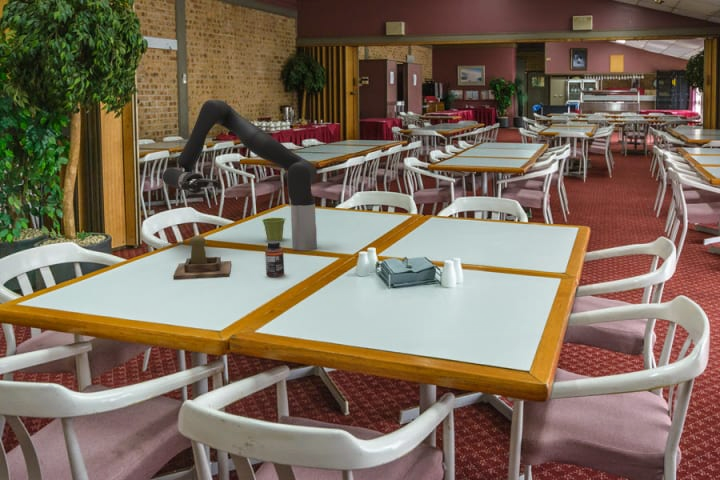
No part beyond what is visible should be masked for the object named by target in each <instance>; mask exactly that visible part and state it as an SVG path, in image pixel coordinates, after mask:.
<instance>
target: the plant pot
mask: <svg viewBox="0 0 720 480" xmlns="http://www.w3.org/2000/svg"><path fill="white" fill-rule="evenodd" d="M261 221H262V223H263V225H264V230H265V235H266V240H267V242H269V241H279V242H281V241H283V236H284V225H285V221H286V218H284V217H270V218H269V217H267V218H263V219H262V220H261Z"/></svg>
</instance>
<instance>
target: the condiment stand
mask: <svg viewBox="0 0 720 480" xmlns="http://www.w3.org/2000/svg"><path fill="white" fill-rule="evenodd" d="M206 258H207V263H208V264H192V265H191V257H189V258H186V260H185V262H181V263H178V264H177V267H176V269H175V271H174V274H173V275H172V277H173V280H190V279H191V280H192V279H209V278H210V279H212V278H214V279H215V278H230V275H231V268H232V260H225V261H224V260H223V261H222V258H221V256H206Z"/></svg>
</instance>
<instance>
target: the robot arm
mask: <svg viewBox="0 0 720 480" xmlns="http://www.w3.org/2000/svg"><path fill="white" fill-rule="evenodd" d="M215 125H220V126H222V127H224V128H225V129H227V130H228V131H230V132H231V133H233V134H234V135H235V136H236V137H237V139H238V140H239V141H240V143H241V144H242V145H243V146H244V147H245V148H246V149H248V150H249V152H251V153H253V154H254V155H256V156H257V157H259V158H260V159H263V160H264V161H268V162H270V163H272V164H273V165H274V164H275V165H277V166H279V167H281V168H283V169H284V170H286V172H287V174H286V177H287V178H286V179H287V193H288V197H289V200H290V217H291V219H290V221H291V242H292V243H291V246H292V247H291V248H292V250H294V251H312V250H317V249H318V240H317V239H318V238H317V236H318V235H317V224H316V223H317V221H316V220H317V219H316V197H315V195H313V194H312V185H311V184H313V183H315V182H316V180H317V178H318V170H317V168H316V167H315V165H314V163H312V162H311V161H309V160H308V159H306V158H303V157H302V156H300V155H298V154H297V153H295V152H293V151H291V150H290V149H289V148H288V147H286V146H285V145H284V144H283V143H281V142H279V140H277V139H275V138H274V137H273V136H272V135H270V134H269V133H268V132H266V131H265V130H264V129H262V128H260V127H258V126H257V125H256V124H254V123H253V122H252V121H249V120H248V119H246V118H245V117H243V116H242V115H241V114H239V113H238V112H237V111H236V110H235V109H234V108H233V107H232V106H230V104H228V103H227V102H226V101H224V100H221V99H208V100H207V101H204V103H203V104H202V106H201V108H200V110H199V113H198V115H197V119H196V121H195V123H194V126H193V128H192V131H191V133H190V135H189V138H188V140H187V141H186V143H185V145H184V147H183V149H182V150H181V152H180V154H179V155H178V157H177V159H176V163H177V165H179V166H180V167H181V168H182V169H184V171H183V170H180V169H177V168H175V167H168V168H167V169H165V170H164V171H163V174H162V181H163V182H164V184H166V185H167V186H170V187H173V188H175V189H177V190H180V191H184V192H187V193H192V194H199V193H201V192H202V191H203V190H205V189H212V188H215V189H220V188H221V186H222V183H221V179H217V178H204V176H203V175H202V174H200V173H197V172H194V171H193V170H194V169H195V166H196V165H197V163H198V161H199V159H200V158H201V155H202V154H203V150H204V147H205V142H206V139H207V138H208V137H207V136H208V135H209V133H210V131H211V130H212V128H213V127H214V126H215Z"/></svg>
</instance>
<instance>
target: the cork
mask: <svg viewBox="0 0 720 480" xmlns="http://www.w3.org/2000/svg"><path fill="white" fill-rule="evenodd" d="M189 244H190V245H189V246H190V247H191V249H190V250H191V251H190V252H191V254H190V258H191V265H192V264H208V263H207V258H206V257H207V253H206V249H205V246H206V238H205V237H204V236H202V235H201V236H200V235H195V236H192V237H191V238H189Z"/></svg>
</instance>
